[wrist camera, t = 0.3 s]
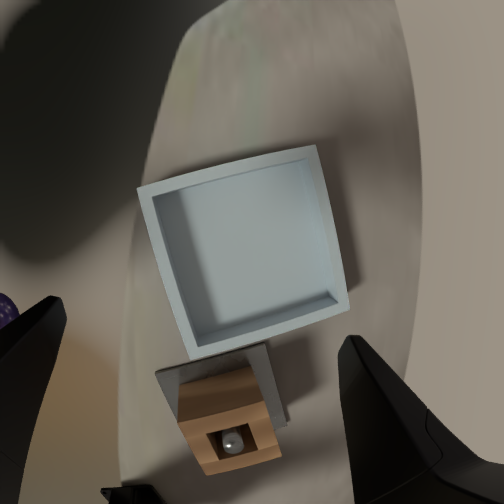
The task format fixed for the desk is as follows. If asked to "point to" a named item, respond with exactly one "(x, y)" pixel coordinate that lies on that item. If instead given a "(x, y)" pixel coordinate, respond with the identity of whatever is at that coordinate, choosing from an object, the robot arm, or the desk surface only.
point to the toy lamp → (7, 310)
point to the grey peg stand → (221, 365)
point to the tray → (246, 249)
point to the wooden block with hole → (226, 420)
